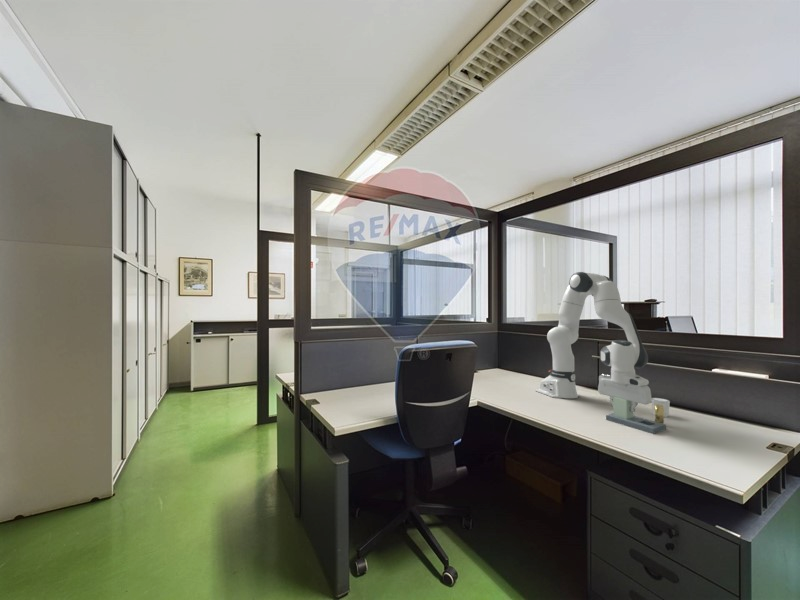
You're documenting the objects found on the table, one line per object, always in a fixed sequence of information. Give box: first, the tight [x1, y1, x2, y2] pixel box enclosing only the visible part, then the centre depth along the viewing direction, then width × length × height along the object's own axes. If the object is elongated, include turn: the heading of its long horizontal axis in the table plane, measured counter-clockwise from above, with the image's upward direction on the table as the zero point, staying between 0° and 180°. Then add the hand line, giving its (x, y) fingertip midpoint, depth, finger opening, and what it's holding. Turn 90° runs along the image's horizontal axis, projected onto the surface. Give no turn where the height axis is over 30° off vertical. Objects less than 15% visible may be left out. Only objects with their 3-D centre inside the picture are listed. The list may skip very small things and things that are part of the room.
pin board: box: [605, 413, 667, 435], centre depth 137 cm, size 18×10×8 cm, turn 28°
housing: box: [612, 397, 635, 419], centre depth 141 cm, size 5×5×8 cm
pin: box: [654, 405, 665, 424], centre depth 137 cm, size 3×3×8 cm
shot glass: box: [651, 397, 671, 418], centre depth 149 cm, size 7×7×7 cm
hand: (623, 409), depth 141 cm, fingers closed on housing, 5 cm apart
